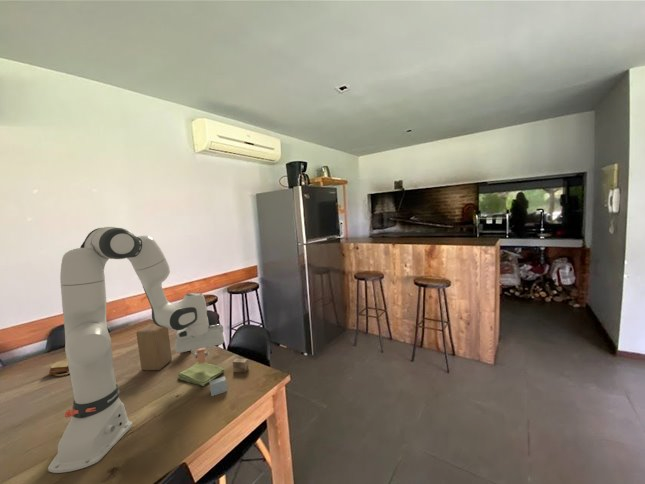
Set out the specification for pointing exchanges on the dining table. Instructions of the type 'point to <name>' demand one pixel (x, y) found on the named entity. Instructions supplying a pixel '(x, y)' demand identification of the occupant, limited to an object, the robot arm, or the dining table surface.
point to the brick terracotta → (201, 355)
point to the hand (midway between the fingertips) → (202, 356)
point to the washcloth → (200, 373)
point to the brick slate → (218, 386)
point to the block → (154, 347)
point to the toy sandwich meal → (59, 369)
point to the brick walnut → (240, 365)
